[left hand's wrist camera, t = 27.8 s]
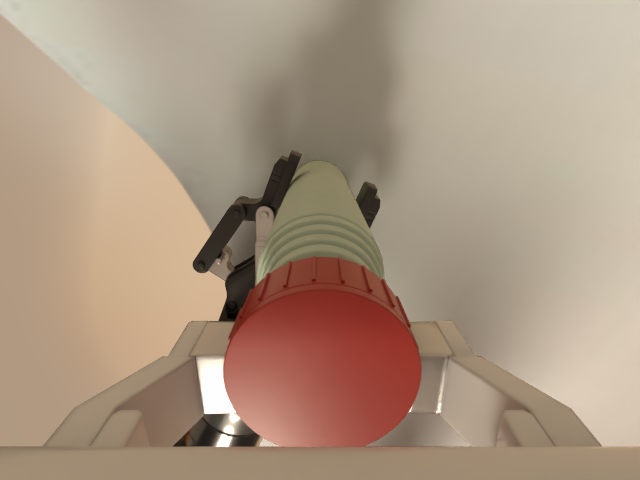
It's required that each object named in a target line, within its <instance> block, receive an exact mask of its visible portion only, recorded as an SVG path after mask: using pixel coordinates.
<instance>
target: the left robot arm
mask: <svg viewBox="0 0 640 480" xmlns="http://www.w3.org/2000/svg"><path fill="white" fill-rule="evenodd" d="M234 323H235V322H229V321H191V322H189V323H188V325H187V326H186V328H185V330H184V331H183V333H182V335H181V336H180V338H179V339H178V341H177V343H176V344H175V346H174V348H173V349H172V351H171V353H170V354H169V356H168V357H161V358H159V359H158V360H156V361H154V362H152V363H151V364H149V365H147V366H146V367H144V368H142V369H140V370H139V371H137V372H135V373H134V374H132V375H130V376H128V377H127V378H125V379H123V380H121V381H120V382H118V383H116V384H115V385H113V386H111V387H109V388H108V389H106V390H104V391H103V392H101V393H99V394H97V395H96V396H94V397H92V398H91V399H89V400H87V401H85V402H84V403H82V404H80V405H79V406H77V407H75V408H74V409H73V410H72V411H71V412H70V414H69V415H68V416H67V417H66V418H65V420H64V421H63V422H62V423H61V425H60V426H59V427H58V428H57V429H56V431H55V432H54V433H53V434H52V436H51V437H50V438H49V439H48V440H47V442H46V443H45V444H44V445H43V446H42V447H0V480H640V447H602V445H601V444H600V443H599V442H598V441H597V439H596V438H595V437H594V436H593V434H592V433H591V432H590V431H589V430H588V428H587V427H586V426H585V425H584V424H583V422H582V421H581V420H580V419H579V418H578V416H577V415H576V414H575V413H574V412H573V410H572V409H571V408H569V407H567V406H566V405H564V404H562V403H560V402H559V401H557V400H555V399H553V398H552V397H550V396H548V395H547V394H545V393H543V392H541V391H540V390H538V389H536V388H534V387H533V386H531V385H529V384H528V383H526V382H524V381H522V380H521V379H519V378H517V377H515V376H514V375H512V374H510V373H509V372H507V371H505V370H503V369H502V368H500V367H498V366H496V365H495V364H493V363H491V362H489V361H488V360H486V359H484V358H483V357H476V356H475V355H474V353H473V352H472V350H471V349H470V347H469V345H468V344H467V342H466V341H465V339H464V338H463V336H462V334H461V333H460V331H459V330H458V328H457V327H456V325H455V323H454V322H452V321H434V322H410V325H411V327H410V329H411V331H412V333H413V335H414V338H415V340H416V342H417V345H418V347H419V350H418V351H419V354H420V359H421V366H422V371H421V382H420V387H419V391H418V394H417V397H416V399H415V401H414V403H413V405H412V407H411V409H410V410H409V412H408V413H424V414H440V416H441V417H442V418H443V419H444V420H445V421H446V422H447V423H448V424H449V425H450V426H451V427H452V428H453V429H454V430H455V431H456V432H457V433H458V434H459V435H460V436H461V437H462V438H463V439H464V440H465V441H466V442H467V443H468V444H469V445H470V446H471V447H172V446H173V445H174V444H175V443H176V442H177V441H178V440H179V439H180V438H181V437H182V436H183V435H184V434H185V433H186V432H187V431H188V430H189V429H190V428H191V427H192V426H194V425H195V424H196V423H197V422H198V421H199V420H200V419H201V418H202V417H203V414H218V413H236V412H235V410H234V408H233V407H232V405H231V403H230V401H229V399H228V396H227V393H226V390H225V385H224V380H223V364H224V357H225V353H226V350H227V347H228V344H229V342H230V341H228V337H229V335H230V332H231V330H232V328H233V325H234Z"/></svg>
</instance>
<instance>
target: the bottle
mask: <svg viewBox="0 0 640 480" xmlns="http://www.w3.org/2000/svg"><path fill="white" fill-rule="evenodd" d="M313 256H316V257H334V258H339V257H341V258H342V259H344V260H348V261H351V262H354V263H357V264H359V265H361V266H362V265H364V266H366V268H367V269H368V270H370V271H372V272H373V273H375V274H376V275H377V276H378V277H379V278H381V279H384V268H383V261H382V256H381V253H380V250H379V248H378V246H377V244H376V242H375V240H374V237H373V235H372V233H371V231H370V229H369V227H368V225H367V223H366V221H365V219H364V217H363V215H362V212H361V210H360V208H359V206H358V204H357V202H356V200H355V198H354V196H353V194H352V192H351V189H350V187H349V185H348V183H347V181H346V179H345V177H344V175H343V173H342V172H341V171H340V169H339V168H337V167H336V166H335V165H333V164H331V163H329V162H326V161H312V162H309V163H306V164H304V165H303V166H302V167H300V168H299V169H298V170H297V172H296V173H295V175H294V177H293V179H292V181H291V184H290V186H289V188H288V191H287V193H286V195H285V197H284V199H283V202H282V204H281V206H280V209H279V211H278V213H277V216H276V218H275V220H274V222H273V225H272V227H271V229H270V232H269V234H268V236H267V239H266V241H265V243H264V245H263V248H262V250H261V253H260V256H259V260H258V269H257V284H258V283H259V282H260V281H261V280H262V279H263V278H264V277H265V276H266V274H267V273H268V272H269V273H271V272H272V271H274V270H275V269H277V268H279V267H281V266H283V265H285V264H287V263H288V262H289V261H291V262H293V261H296V260H300V259H305V258H310V257H313Z"/></svg>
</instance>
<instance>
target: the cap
mask: <svg viewBox="0 0 640 480" xmlns="http://www.w3.org/2000/svg"><path fill="white" fill-rule="evenodd" d="M410 327H411V325H410V322H409V320H408V318H407V316H406V313H405V311H404V309H403V307H402V304H401V302H400V300H399V298H398V296H397V297H395V295H394V294H393V292H392V291H391V289H390V288H389V287H388V286H387V284H386V281H385V280H384V279H381V278H379V277H378V276H377V275H376V274H375V273H373V272H372V271H370V270H368V269H367V268H366V266H364V265H362V266H361V265H359V264H357V263H354V262H351V261H348V260H344V259H342V258H341V257H339V258H334V257H316V256H313V257H310V258H305V259H300V260H296V261H293V262H291V261H289V262H288V263H287V264H285V265H283V266H281V267H279V268H277V269H275V270H274V271H272V272H271V273H269V272H268V273H267V274H266V276H265V277H264V278H263V279H262V280H261V281H260V282H259V283H258V284H257V285H256V286H255V287H254V289H251V290H250V291H249V294H248V296H247V299H246V301H245V304H244V306H243V308H240V311H239V313H238V316H237V318H236V320H235V323H234V325H233V328H232V330H231V332H230V335H229V337H228V341H230V342H229V344H228V347H227V350H226V353H225V357H224V364H223V380H224V385H225V390H226V393H227V396H228V399H229V401H230V403H231V405H232V407H233V408H234V410H235V412H236V413H237V414H238V416H239V417H240V418H241V419H242V421H243V422H244V423H245V424H246V425H247V426H248V427H249V428H251V429H252V430H253V431H254V432H255V433H257V434H258V435H260V436H261V437H263V438H264V439H266V440H268V441H270V442H272V443H274V444H276V445H279V446H282V447H362V446H365V445H368V444H370V443H372V442H374V441H376V440H378V439H379V438H381V437H383V436H384V435H386V434H387V433H389V432H390V431H391V430H392V429H393V428H395V427H396V426H397V425H398V424H399V423H400V422H401V421H402V420H403V418H404V417H405V416H406V415H407V413H408V412H409V410H410V409H411V407H412V405H413V403H414V401H415V399H416V397H417V394H418V391H419V387H420V382H421V371H422V366H421V359H420V354H419V351H418V350H419V347H418V345H417V342H416V340H415V338H414V335H413V333H412V331H411V329H410Z"/></svg>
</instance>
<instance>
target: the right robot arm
mask: <svg viewBox="0 0 640 480" xmlns="http://www.w3.org/2000/svg"><path fill="white" fill-rule="evenodd" d="M301 155H302V154H300V153H297V152H295V151H293V150H292V152H291V153H290V156H289V158H287V157H284V156H282V157H281V158H280V159H279V160H278V161H277V162H276V164H275V165H274V168H273V171H272V173H271V176H270V179H269V182H268V184H267V187H266V190H265V193H264V196H263V197H262V198H259V199H249V198H248V197H245V196H241V197H239V198H238V199H237V200H236V201H235V203H234V204H233V205H231V206H230V208H229V209H228V210H227V212H226V213H225V215H224V216H223V218H222V219H221V221H220V222H219V224H218V225H217V227H216V228H215V230H214V231H213V233H212V234H211V236H210V237H209V239H208V240H207V242H206V243H205V245H204V246H203V248H202V249H201V251H200V252H199V254H198V255H197V257H196V258H195V260H194V261H193V268H194V269H195V270H196V271H197V272H199V273H205V272H207V271H208V270H209V271H210V272H212V273H213V274H215V275H217V276H218V277H220V278H221V279H223V280H225V281H226V282H225V287H226V291H227V299H226V302H225V305H224V307H223V310H222V313H221V316H220V318H219V321H229V322H235V320H236V318H237V316H238V313H239V311H240V308H243V306H244V304H245V301H246V299H247V296H248V294H249V291H250V290H251V289H254V287H255V286H256V285H257V269H258V260H259V256H260V253H261V250H262V248H263V245H264V243H265V241H266V239H267V236H268V234H269V232H270V229H271V227H272V225H273V222H274V220H275V218H276V216H277V213H278V209H280V206H281V204H282V202H283V199H284V197H285V195H286V193H287V191H288V188H289V186H290V184H291V181H292V178H293V176H294V173H295V171H296V168H297V165H298V163H299V160H300V158H301ZM376 193H377V188H376V187H375V185H373V184H371V183H368V182H366V181H365V182H364V184H363V186H362V188H361V190H360V192H359V194H358V196H357V199H356V202H357V204H358V206H359V208H360V210H361V212H362V215H363V217H364V219H365V221H366V223H367V225H368V227H369V229H370V227H371V224H372V222H373V220H374V218H375V216H376V214H377V212H378V210H379V208H380V199H379V197H378V196H377V195H376ZM243 220H244V221H256V241H255V255H254V256H252V257H250V258H249V259H247V260H245V261H244V262H242V263H240V264H238V265H237V266H235V267H234V266H233V265H232V264H231V262H230V258H231V256H232V250H231V249H230V248H229V247H228V246H227V245H226V244H227V243H228V241H229V240H230V238H231V237H232V236H233V234H234V233H235V231H236V230H237V228H238V227H239V225H240V224H241V223H242V221H243ZM262 438H263V437H261V436H260V435H258V434H257V433H255V432H254V431H253V430H252V429H251V428H249V427H248V426H247V425H246V424H245V423H244V422H243V421H242V419H241V418H240V417H239V416H238V414H237V413H218V414H203V417H202V418H201V419H200V420H199V421H198V422H197V423H196V424H195V425H194V426H192V427H191V428H190V429H189V430H188V431H187V432H186V433H185V434H184V435H183V436H182V437H181V438H180V439H179V440H178V441H177V442H176V443H175V444H174V445H173V446H172V447H259V445H260V443H261V441H262Z"/></svg>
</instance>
